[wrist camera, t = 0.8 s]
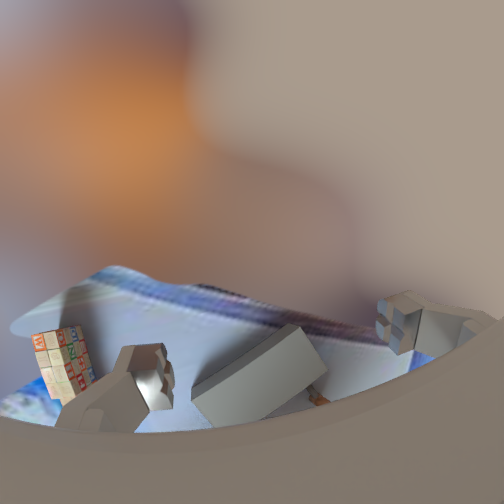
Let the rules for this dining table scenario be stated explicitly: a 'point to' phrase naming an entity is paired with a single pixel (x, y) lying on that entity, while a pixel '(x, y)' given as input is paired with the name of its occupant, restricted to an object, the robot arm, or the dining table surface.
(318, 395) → the toy hammer
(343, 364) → the dining table surface
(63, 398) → the stack of blocks
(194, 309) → the dining table surface
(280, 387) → the shelf
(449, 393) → the robot arm
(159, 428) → the dining table surface
